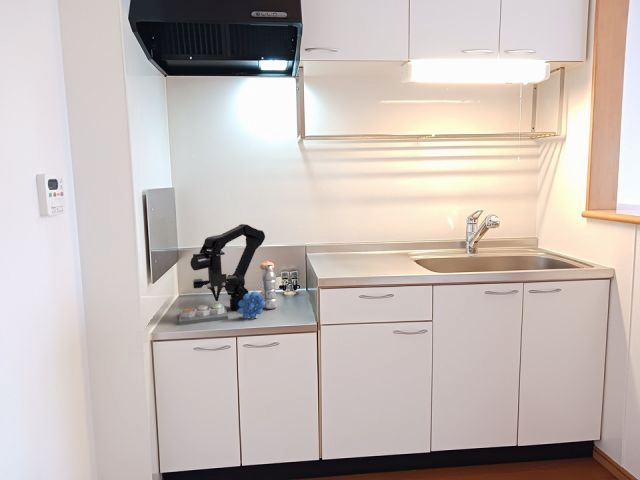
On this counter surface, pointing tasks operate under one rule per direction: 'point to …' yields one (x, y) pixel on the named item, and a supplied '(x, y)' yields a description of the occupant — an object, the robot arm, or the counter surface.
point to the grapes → (251, 305)
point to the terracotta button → (188, 310)
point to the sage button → (217, 306)
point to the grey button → (202, 308)
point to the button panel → (202, 316)
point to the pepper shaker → (263, 273)
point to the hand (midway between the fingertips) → (216, 301)
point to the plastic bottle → (269, 287)
